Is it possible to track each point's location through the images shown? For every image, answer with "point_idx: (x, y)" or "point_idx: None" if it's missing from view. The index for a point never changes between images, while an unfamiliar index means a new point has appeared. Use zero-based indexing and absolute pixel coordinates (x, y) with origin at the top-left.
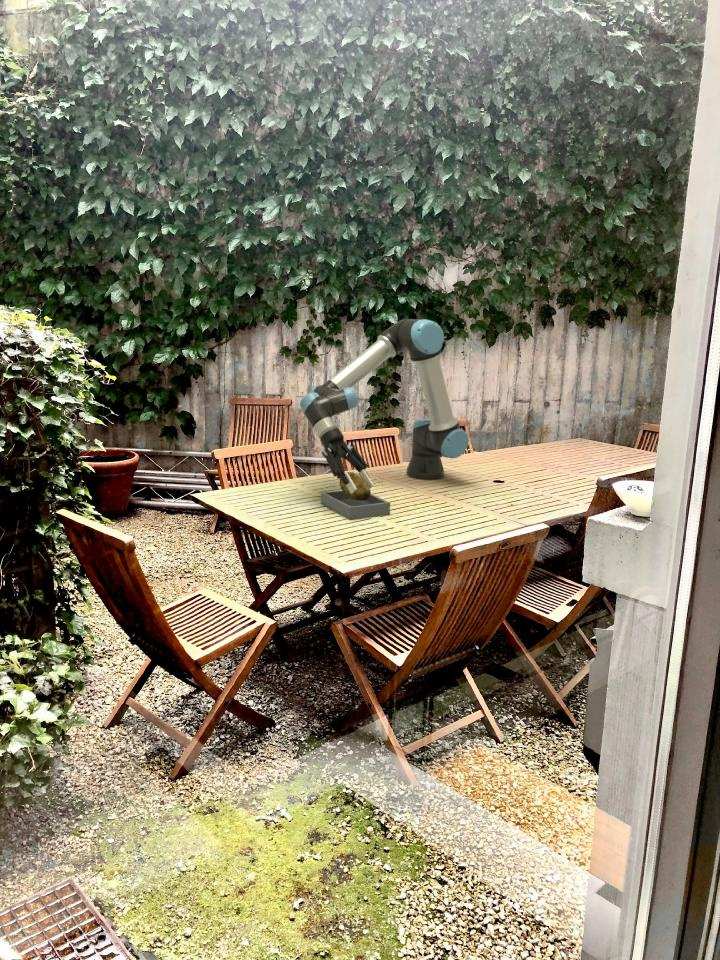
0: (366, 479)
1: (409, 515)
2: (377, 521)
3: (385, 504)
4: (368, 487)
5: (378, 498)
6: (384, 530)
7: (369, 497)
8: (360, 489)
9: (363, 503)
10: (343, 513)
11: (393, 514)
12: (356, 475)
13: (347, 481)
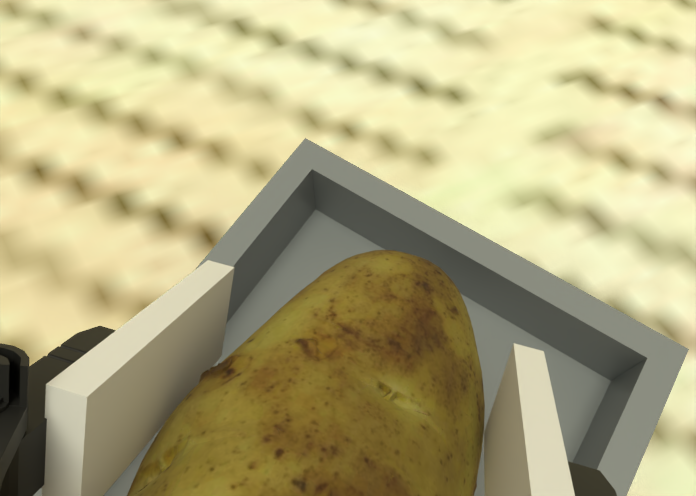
0: (179, 343)
1: (260, 87)
2: (519, 197)
3: (345, 166)
4: (338, 271)
5: None
6: (656, 94)
7: None
8: (453, 327)
9: None
10: None
11: None
12: (257, 466)
13: (591, 475)
